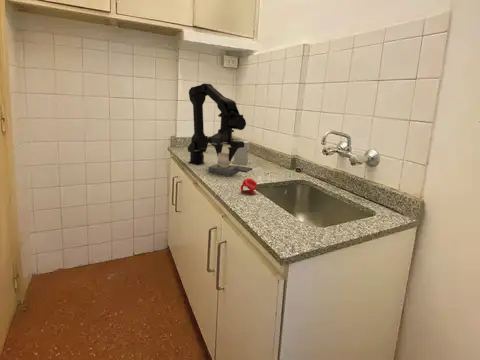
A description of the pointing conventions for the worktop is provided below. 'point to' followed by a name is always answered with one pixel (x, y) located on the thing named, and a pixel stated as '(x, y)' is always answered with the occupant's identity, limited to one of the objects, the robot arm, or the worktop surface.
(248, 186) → the red plastic curved piece
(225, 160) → the end cover
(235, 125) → the robot arm
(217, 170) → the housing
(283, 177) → the worktop surface
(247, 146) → the supplement box
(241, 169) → the rubber mat
